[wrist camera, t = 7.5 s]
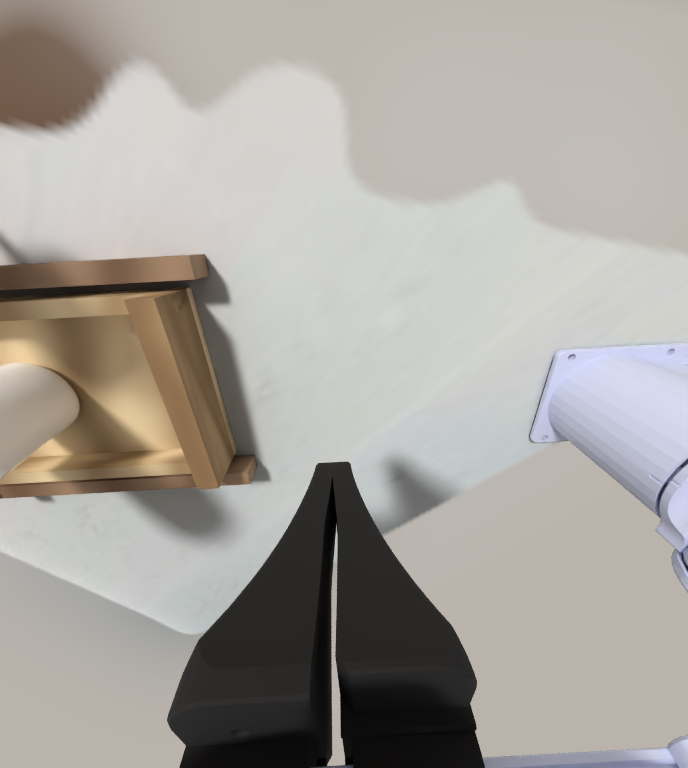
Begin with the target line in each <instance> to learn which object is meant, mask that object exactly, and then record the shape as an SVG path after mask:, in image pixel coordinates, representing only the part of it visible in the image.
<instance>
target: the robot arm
mask: <svg viewBox="0 0 688 768" xmlns="http://www.w3.org/2000/svg"><path fill="white" fill-rule="evenodd" d="M570 355H571V357H570V358H569V359H568V357H569V356H570ZM687 358H688V344H686V343H672V344H654V345H637V346H619V347H601V348H583V349H566V350H560V351H558V352H557V353H556V354H555V356H554V359H553V362H552V366H551V369H550V372H549V375H548V379H547V382H546V385H545V388H544V392H543V395H542V398H541V401H540V405H539V408H538V411H537V414H536V418H535V421H534V424H533V428H532V431H531V434H530V439H531V440H532V441H533V442H536V443H539V442H556V441H570V442H571V443H572V444H574V445H575V446H576V447H577V448H578V449H579V450H581V451H582V452H583V453H584V454H585V455H586V456H588V457H589V458H590V459H591V460H592V461H594V462H595V463H596V464H597V465H598V466H599V467H601V468H602V469H603V470H604V471H606V472H607V473H608V474H609V475H610V476H611V477H612V478H614V479H615V480H616V481H617V482H618V483H620V484H621V485H622V486H623V487H624V488H625V489H627V490H628V491H629V492H630V493H632V494H633V495H634V496H635V497H636V498H637V499H638V500H640V501H641V502H642V503H643V504H644V505H646V506H647V507H648V508H649V509H650V510H651V511H653V512H654V513H655V514H656V515H658V516H659V517H660V518H661V521H660V524H659V526H658V527H657V528H656V532H658V533H659V534H660V535H661V536H662V537H663V538H664V539H665V540H667V541H668V542H669V543H670V544H671V545H672V546H673V547H674V548H675V550H674V552H673V554H672V565H673V568H674V571H675V573H676V575H677V577H678V579H679V580H680V582H681V584H682V585H683V586H684V588H685V589H686V590H687V592H688V359H687ZM336 523H337V533H338V564H337V568H338V569H337V570H338V571H337V620H336V663H337V672H338V680H339V688H340V695H341V697H340V702H341V738H342V739H343V746H344V753H345V765H342V766H327V764H328V762H329V760H330V758H331V756H332V694H331V693H332V689H331V688H332V686H331V685H332V683H331V588H332V587H331V586H332V571H333V559H334V546H335V534H336ZM476 686H477V680H476V677H475V674H474V671H473V669H472V666H471V664H470V661H469V659H468V656H467V654H466V652H465V650H464V648H463V646H462V644H461V642H460V640H459V638H458V636H457V634H456V632H455V631H454V629H453V627H452V626H451V624H450V623H449V622H448V621H447V620H446V619H445V617H444V616H443V615H442V614H441V613H440V612H439V611H438V610H437V609H436V607H435V606H434V605H433V604H432V603H431V602H430V600H429V599H428V598H427V597H426V596H425V594H424V593H423V592H422V591H421V589H420V588H419V587H418V586H417V585H416V583H415V582H414V581H413V579H412V578H411V577H410V576H409V574H408V573H407V571H406V570H405V569H404V567H403V566H402V565H401V564H400V562H399V561H398V559H397V558H396V557H395V555H394V554H393V552H392V551H391V549H390V548H389V546H388V545H387V543H386V541H385V540H384V538H383V537H382V535H381V533H380V532H379V530H378V528H377V527H376V525H375V523H374V521H373V519H372V517H371V516H370V514H369V512H368V510H367V508H366V506H365V504H364V502H363V499H362V497H361V495H360V493H359V490H358V488H357V485H356V483H355V480H354V477H353V473H352V470H351V464H350V463H349V462H332V463H318V464H317V465H316V468H315V472H314V475H313V477H312V480H311V482H310V485H309V487H308V490H307V492H306V494H305V496H304V498H303V500H302V502H301V504H300V506H299V508H298V510H297V512H296V514H295V516H294V518H293V519H292V521H291V523H290V525H289V527H288V528H287V530H286V532H285V533H284V535H283V536H282V538H281V540H280V541H279V543H278V544H277V546H276V547H275V549H274V550H273V552H272V553H271V555H270V556H269V557H268V559H267V560H266V562H265V563H264V564H263V566H262V567H261V568H260V570H259V571H258V572H257V574H256V575H255V576H254V578H253V579H252V580H251V581H250V583H249V584H248V585H247V586H246V587H245V589H244V590H243V591H242V592H241V594H240V595H239V596H238V597H237V598H236V600H235V601H234V602H233V603H232V604H231V605H230V607H229V608H228V609H227V610H226V611H225V612H224V613H223V614H222V615H221V617H220V618H219V619H218V620H217V621H216V622H215V623H214V624H213V625H212V626H211V627H210V628H209V630H208V631H207V632H206V633H205V634H204V635H203V636H202V637H201V638H200V639H199V641H198V643H197V645H196V647H195V649H194V651H193V653H192V655H191V657H190V659H189V661H188V664H187V666H186V668H185V670H184V672H183V675H182V677H181V680H180V683H179V685H178V688H177V691H176V694H175V698H174V700H173V703H172V706H171V708H170V711H169V714H168V718H167V721H168V724H169V726H170V728H171V730H172V731H173V732H174V733H175V734H176V735H177V736H178V737H179V739H181V741H183V743H184V744H185V745H186V748H185V751H184V754H183V758H182V761H181V764H180V768H688V735H685V736H681V737H678V738H676V739H674V740H673V741H671V742H670V743H669V744H668V747H665V748H648V749H628V750H611V751H593V752H575V753H557V754H539V755H521V756H503V757H486V758H482V754H481V751H480V747H479V744H478V741H477V737H476V733H475V730H476V729H477V728H476V723H475V719H474V716H473V713H472V709H471V705H470V702H471V700H472V697H473V695H474V692H475V690H476Z"/></svg>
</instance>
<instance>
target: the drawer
mask: <svg viewBox="0 0 688 768" xmlns="http://www.w3.org/2000/svg"><path fill="white" fill-rule="evenodd" d="M15 362H23V363H31V364H35V365H39V366H42V367H45V368H47V369H49V370H51V371H53V372H55V373H56V374H58V375H59V376H61V377H62V378H63V379H64V380H65V381H66V382H68V384H69V385H70V386H71V387H72V388H73V390H74V391H75V393H76V394H77V397H78V399H79V403H80V411H79V415H78V417H77V419H76V420H75V421H74V423H73V424H71V425H70V426H69V427H68V428H66V429H65V430H63V431H62V432H61V433H59V434H58V435H56V436H55V437H53V438H52V439H50V440H49V441H48V442H47V443H45V444H44V445H43V446H42V447H41V448H39V449H38V450H37V451H36V452H34V453H33V454H32V455H31V456H29V457H28V458H27V459H26V460H24V461H23V462H22V463H21V464H20V465H18V466H17V467H16V468H15V469H13V470H12V471H11V472H10V473H9V474H7V475H6V476H5V477H4V478H2V479H1V480H0V485H3V484H20V483H37V482H55V481H72V480H90V479H107V478H124V477H142V476H159V475H177V474H192V476H193V479H194V481H195V484H196V486H197V489H212V488H219V487H220V485H221V483H222V481H223V478H224V476H225V474H226V472H227V470H228V468H229V466H230V464H231V462H232V459H233V457H234V455H235V453H236V451H237V450H236V446H235V443H234V439H233V436H232V432H231V429H230V425H229V422H228V418H227V414H226V411H225V407H224V404H223V400H222V397H221V393H220V390H219V386H218V382H217V379H216V375H215V372H214V368H213V365H212V361H211V358H210V354H209V350H208V347H207V343H206V340H205V336H204V333H203V329H202V325H201V322H200V318H199V315H198V311H197V308H196V304H195V301H194V297H193V293H192V290H191V287H185V288H167V289H149V290H131V291H113V292H95V293H77V294H59V295H41V296H22V297H4V298H0V365H4V364H8V363H15Z"/></svg>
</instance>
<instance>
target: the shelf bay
mask: <svg viewBox="0 0 688 768" xmlns="http://www.w3.org/2000/svg"><path fill="white" fill-rule="evenodd" d="M207 276H210V275H209V271H208V267H207V263H206V259H205V255H204V254H201V255H183V256H165V257H146V258H128V259H110V260H92V261H74V262H56V263H37V264H19V265H1V266H0V290H15V289H33V288H52V287H70V286H88V285H106V284H124V283H142V282H160V281H178V280H195V279H199V278H203V277H207ZM256 467H257V465H256V461H255V457H254V455H252V456H234V457H233V459H232V462H231V464H230V466H229V468H228V470H227V472H226V474H225V476H224V478H223V481H222V483H221V485H220V486H224V485H242V484H251V481H252V479H253V476H254V473H255V470H256ZM190 487H197V486H196V484H195V481H194V479H193V476H192V474H177V475H159V476H142V477H124V478H107V479H90V480H72V481H55V482H37V483H20V484H3V485H0V498H16V497H33V496H50V495H68V494H85V493H103V492H120V491H137V490H155V489H172V488H190Z"/></svg>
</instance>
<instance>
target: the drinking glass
mask: <svg viewBox="0 0 688 768" xmlns="http://www.w3.org/2000/svg"><path fill="white" fill-rule="evenodd" d="M79 411H80V403H79V399H78V397H77V394H76V393H75V391H74V390H73V388H72V387H71V386H70V385H69V384H68V382H66V381H65V380H64V379H63V378H62V377H61V376H59V375H58V374H56V373H55V372H53V371H51V370H49V369H47V368H45V367H42V366H39V365H35V364H31V363H23V362H15V363H8V364H4V365H0V480H1V479H2V478H4V477H5V476H6V475H7V474H9V473H10V472H11V471H12V470H13V469H15V468H16V467H17V466H18V465H20V464H21V463H22V462H23V461H24V460H26V459H27V458H28V457H29V456H31V455H32V454H33V453H34V452H36V451H37V450H38V449H39V448H41V447H42V446H43V445H44V444H45V443H47V442H48V441H49V440H50V439H52V438H53V437H55V436H56V435H58V434H59V433H61V432H62V431H63V430H65V429H66V428H68V427H69V426H70V425H71V424H73V423H74V421H75V420H76V419H77V417H78V415H79Z"/></svg>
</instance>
